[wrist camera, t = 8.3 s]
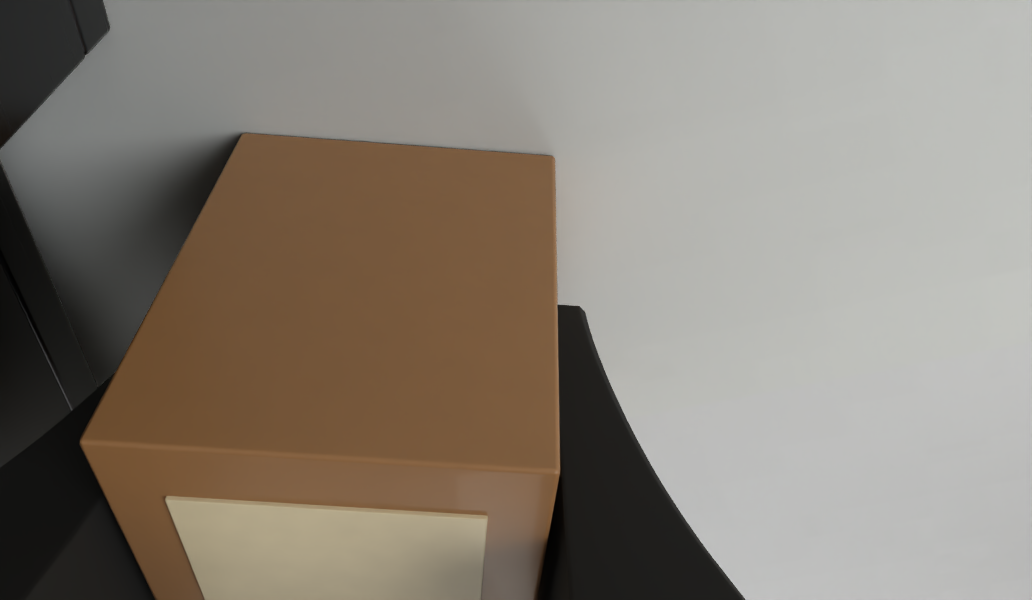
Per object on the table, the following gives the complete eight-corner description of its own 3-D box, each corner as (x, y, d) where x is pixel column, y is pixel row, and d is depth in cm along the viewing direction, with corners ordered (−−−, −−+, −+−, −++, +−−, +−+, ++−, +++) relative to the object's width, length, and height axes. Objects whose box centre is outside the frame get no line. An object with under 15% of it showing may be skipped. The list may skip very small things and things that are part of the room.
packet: (524, 418, 16) (516, 720, 12) (292, 402, 16) (201, 703, 11) (554, 154, 12) (560, 477, 7) (241, 131, 11) (72, 447, 7)
